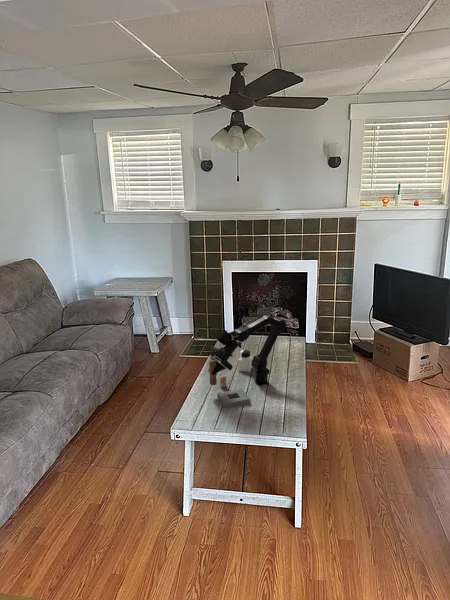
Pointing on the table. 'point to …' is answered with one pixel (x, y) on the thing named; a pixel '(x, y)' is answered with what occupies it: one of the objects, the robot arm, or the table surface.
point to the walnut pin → (211, 367)
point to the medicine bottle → (244, 361)
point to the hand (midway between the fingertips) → (210, 372)
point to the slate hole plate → (240, 394)
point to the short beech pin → (223, 381)
